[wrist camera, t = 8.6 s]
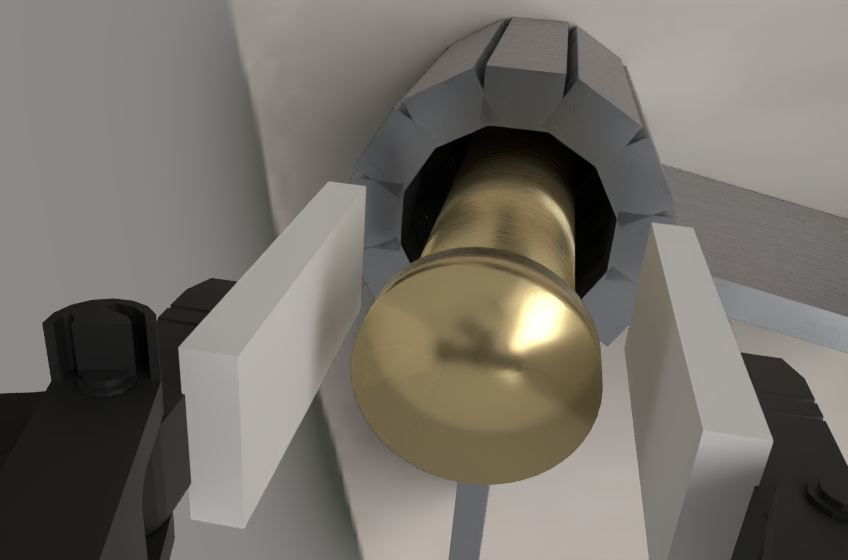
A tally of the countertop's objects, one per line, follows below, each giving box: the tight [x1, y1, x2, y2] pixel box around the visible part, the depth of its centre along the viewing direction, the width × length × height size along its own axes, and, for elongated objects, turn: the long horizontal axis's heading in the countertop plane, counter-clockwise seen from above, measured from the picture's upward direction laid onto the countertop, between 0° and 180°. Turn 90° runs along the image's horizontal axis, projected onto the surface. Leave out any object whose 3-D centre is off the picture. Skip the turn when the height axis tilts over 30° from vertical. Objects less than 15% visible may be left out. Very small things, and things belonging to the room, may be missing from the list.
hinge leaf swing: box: [662, 165, 848, 353], centre depth 20 cm, size 10×1×8 cm, turn 76°
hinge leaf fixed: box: [350, 17, 677, 560], centre depth 23 cm, size 17×7×8 cm, turn 176°
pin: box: [351, 125, 603, 484], centre depth 18 cm, size 4×4×14 cm
